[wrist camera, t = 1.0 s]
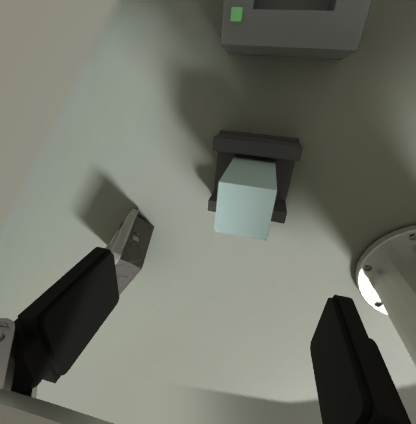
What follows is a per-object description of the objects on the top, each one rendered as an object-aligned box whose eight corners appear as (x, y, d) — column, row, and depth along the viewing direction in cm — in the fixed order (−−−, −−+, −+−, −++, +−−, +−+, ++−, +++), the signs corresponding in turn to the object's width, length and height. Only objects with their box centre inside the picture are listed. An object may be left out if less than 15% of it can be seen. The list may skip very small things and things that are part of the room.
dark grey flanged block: (298, 138, 25) (303, 145, 21) (282, 209, 28) (283, 225, 25) (221, 130, 26) (214, 135, 23) (215, 198, 30) (207, 212, 26)
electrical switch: (135, 204, 33) (97, 245, 25) (166, 226, 34) (140, 273, 26) (107, 245, 37) (68, 291, 29) (136, 263, 38) (105, 313, 30)
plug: (275, 157, 25) (278, 189, 16) (268, 194, 27) (267, 241, 18) (236, 152, 26) (218, 181, 17) (231, 188, 28) (213, 231, 19)
